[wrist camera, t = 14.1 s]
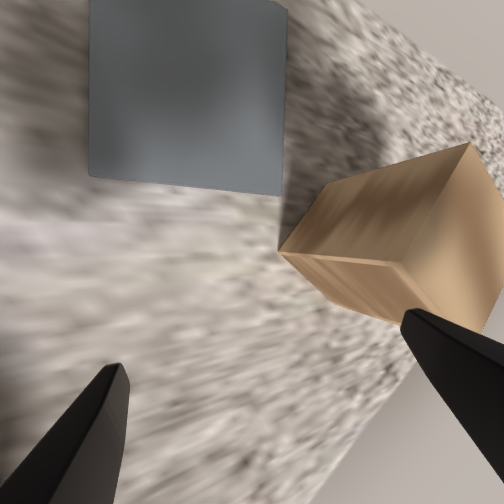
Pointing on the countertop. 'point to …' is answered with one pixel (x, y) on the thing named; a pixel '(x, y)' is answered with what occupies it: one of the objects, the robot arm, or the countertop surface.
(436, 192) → the cover box
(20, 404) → the countertop surface
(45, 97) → the countertop surface
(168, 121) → the slate mat
